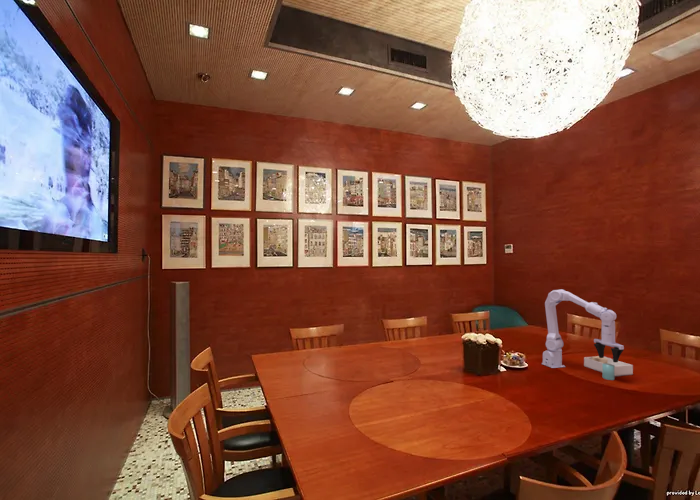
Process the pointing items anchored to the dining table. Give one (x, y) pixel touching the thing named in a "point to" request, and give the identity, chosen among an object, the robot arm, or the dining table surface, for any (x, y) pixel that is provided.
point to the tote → (620, 366)
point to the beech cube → (600, 359)
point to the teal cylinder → (608, 371)
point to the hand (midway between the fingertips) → (608, 359)
